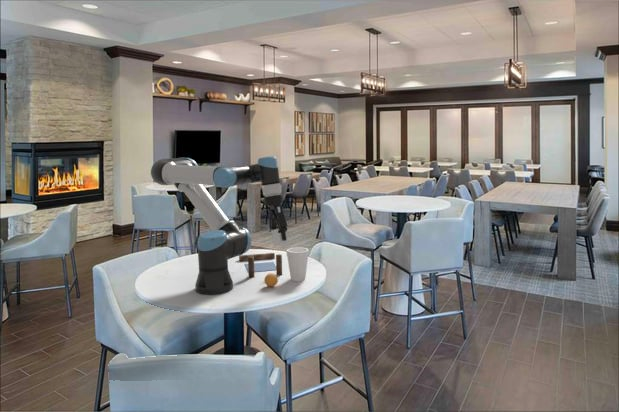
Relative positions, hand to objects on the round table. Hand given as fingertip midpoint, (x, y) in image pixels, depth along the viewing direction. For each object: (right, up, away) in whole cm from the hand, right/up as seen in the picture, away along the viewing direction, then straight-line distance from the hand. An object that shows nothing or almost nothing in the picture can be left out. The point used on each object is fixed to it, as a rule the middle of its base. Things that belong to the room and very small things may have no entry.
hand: (280, 246), depth 182 cm
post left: (-14, -15, +18) cm, 28 cm away
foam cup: (+7, -16, +14) cm, 22 cm away
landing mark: (-12, -13, +33) cm, 37 cm away
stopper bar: (-15, -11, +47) cm, 51 cm away
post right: (-2, -14, +21) cm, 26 cm away
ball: (-4, -14, +4) cm, 15 cm away
